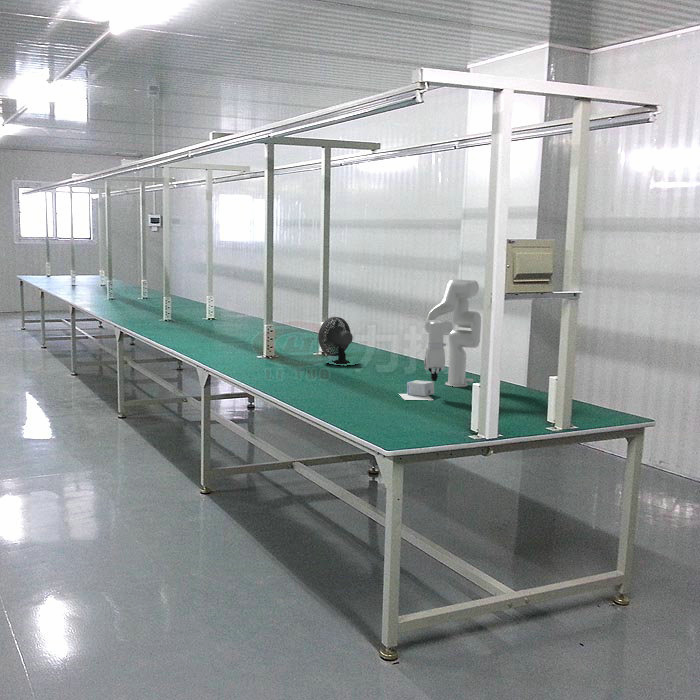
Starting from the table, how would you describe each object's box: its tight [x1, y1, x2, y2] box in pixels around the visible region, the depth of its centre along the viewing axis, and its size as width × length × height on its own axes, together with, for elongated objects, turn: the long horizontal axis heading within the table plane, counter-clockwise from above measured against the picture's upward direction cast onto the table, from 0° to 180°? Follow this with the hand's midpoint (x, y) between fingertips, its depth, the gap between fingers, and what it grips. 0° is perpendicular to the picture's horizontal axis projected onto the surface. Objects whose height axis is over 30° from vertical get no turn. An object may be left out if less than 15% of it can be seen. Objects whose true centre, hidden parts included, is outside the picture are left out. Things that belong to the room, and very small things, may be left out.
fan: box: [317, 316, 354, 364], centre depth 495 cm, size 26×26×30 cm
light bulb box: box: [406, 379, 435, 396], centre depth 399 cm, size 11×7×11 cm
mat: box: [398, 393, 434, 401], centre depth 393 cm, size 15×16×1 cm
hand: (434, 380), depth 394 cm, fingers closed
